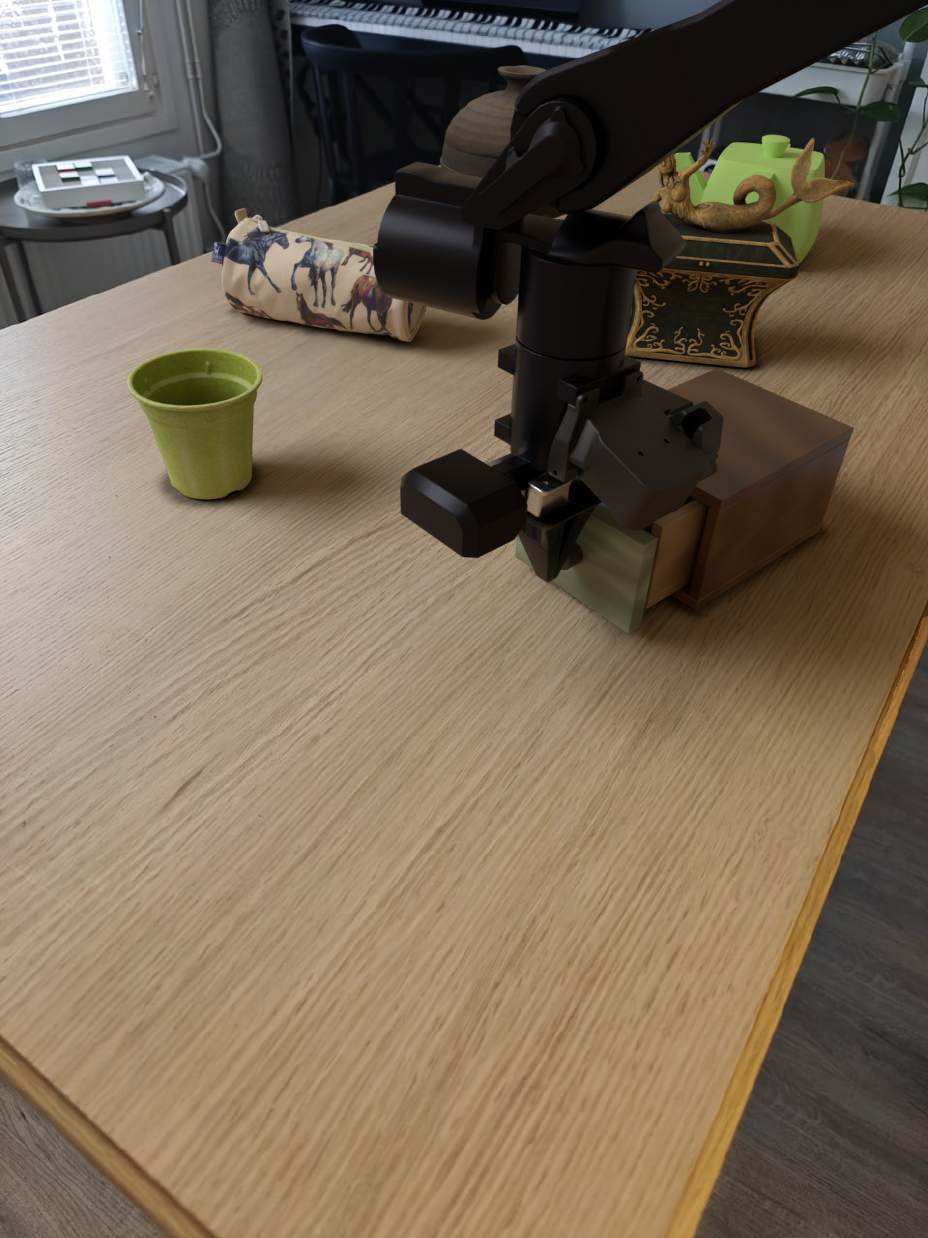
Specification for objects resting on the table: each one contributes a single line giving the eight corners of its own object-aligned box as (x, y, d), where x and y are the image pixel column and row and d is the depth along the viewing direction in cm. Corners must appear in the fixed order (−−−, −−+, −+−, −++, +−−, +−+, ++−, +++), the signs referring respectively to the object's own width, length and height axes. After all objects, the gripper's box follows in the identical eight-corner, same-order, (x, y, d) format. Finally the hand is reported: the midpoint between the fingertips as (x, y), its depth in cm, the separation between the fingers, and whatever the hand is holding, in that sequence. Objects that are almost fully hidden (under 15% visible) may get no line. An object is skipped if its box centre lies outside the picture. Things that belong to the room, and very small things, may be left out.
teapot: (642, 262, 111) (660, 143, 103) (679, 216, 125) (697, 108, 117) (799, 288, 106) (832, 165, 97) (819, 237, 120) (849, 125, 112)
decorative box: (597, 358, 90) (625, 136, 78) (603, 320, 98) (630, 110, 85) (808, 380, 88) (873, 154, 75) (798, 339, 95) (856, 126, 82)
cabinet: (695, 610, 61) (722, 500, 56) (569, 531, 68) (582, 426, 62) (819, 531, 69) (854, 427, 63) (695, 467, 75) (717, 367, 70)
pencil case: (215, 322, 94) (200, 223, 88) (257, 294, 101) (246, 198, 94) (414, 359, 89) (413, 256, 83) (445, 326, 95) (447, 228, 89)
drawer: (615, 642, 57) (631, 553, 53) (501, 563, 63) (507, 477, 59) (757, 554, 65) (781, 469, 60) (644, 490, 71) (658, 409, 66)
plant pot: (281, 449, 76) (270, 348, 70) (266, 514, 68) (251, 406, 63) (165, 448, 75) (144, 346, 70) (137, 513, 68) (111, 405, 62)
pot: (504, 210, 123) (521, 37, 109) (609, 258, 114) (644, 77, 100) (404, 244, 113) (410, 58, 99) (512, 299, 105) (535, 105, 91)
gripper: (554, 457, 38) (528, 719, 48) (809, 342, 48) (743, 581, 58) (390, 364, 45) (397, 613, 55) (644, 279, 54) (610, 504, 64)
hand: (546, 577), depth 58 cm, fingers closed
